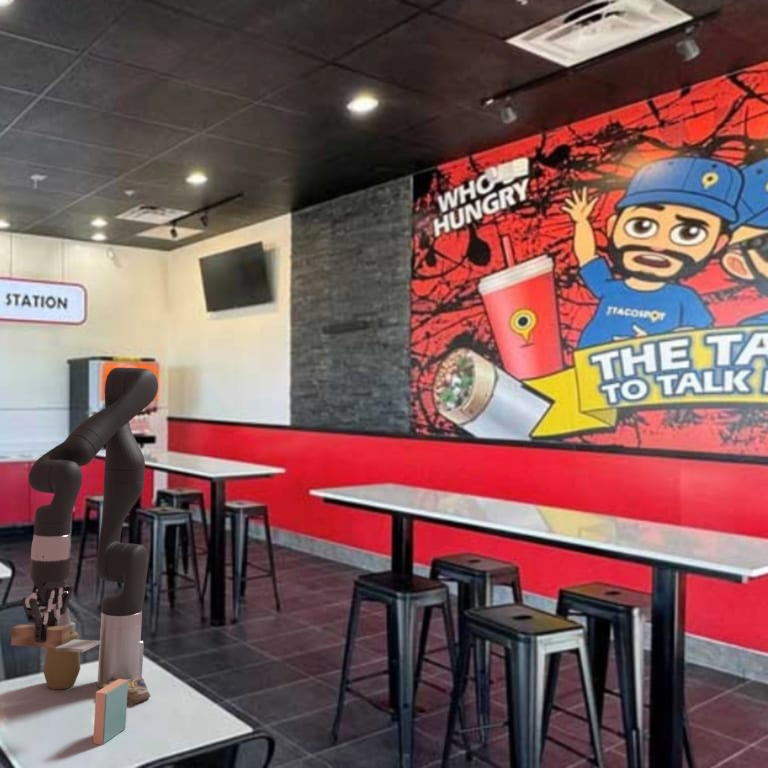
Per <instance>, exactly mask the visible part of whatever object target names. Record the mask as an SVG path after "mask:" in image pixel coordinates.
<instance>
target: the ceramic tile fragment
mask: <svg viewBox="0 0 768 768" xmlns="http://www.w3.org/2000/svg"><path fill="white" fill-rule="evenodd" d="M125 680H128V691H127V703H129V704H128V705H130V704H132V705H134V704H138V703H141V702H143V701H145V700H146V699H147V700H149V699H150V698H151V694H150V693H149V691H148V685H147V684H146V682H145V679H144V678H143V677H142V678H133V679H125ZM115 681H116V680H115ZM112 682H114V681H107V682H104V683H103V688H104V687H106V686H107V685H109V684H111V683H112ZM142 700H143V701H142ZM140 701H141V702H140Z"/></svg>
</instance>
